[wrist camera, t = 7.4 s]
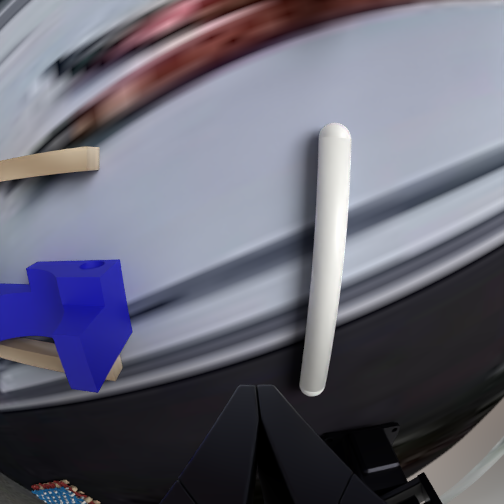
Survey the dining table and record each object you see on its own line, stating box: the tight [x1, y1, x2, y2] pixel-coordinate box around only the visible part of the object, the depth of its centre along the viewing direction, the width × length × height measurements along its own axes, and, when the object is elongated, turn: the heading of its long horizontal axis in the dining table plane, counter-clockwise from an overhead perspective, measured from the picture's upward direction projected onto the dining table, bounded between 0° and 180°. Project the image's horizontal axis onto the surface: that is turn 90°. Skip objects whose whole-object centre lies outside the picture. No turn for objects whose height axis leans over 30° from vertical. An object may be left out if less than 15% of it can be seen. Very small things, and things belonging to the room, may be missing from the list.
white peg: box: [299, 123, 351, 396], centre depth 16 cm, size 16×2×2 cm, turn 179°
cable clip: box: [0, 260, 132, 393], centre depth 14 cm, size 12×4×6 cm, turn 91°
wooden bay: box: [0, 147, 123, 381], centre depth 15 cm, size 13×15×2 cm
